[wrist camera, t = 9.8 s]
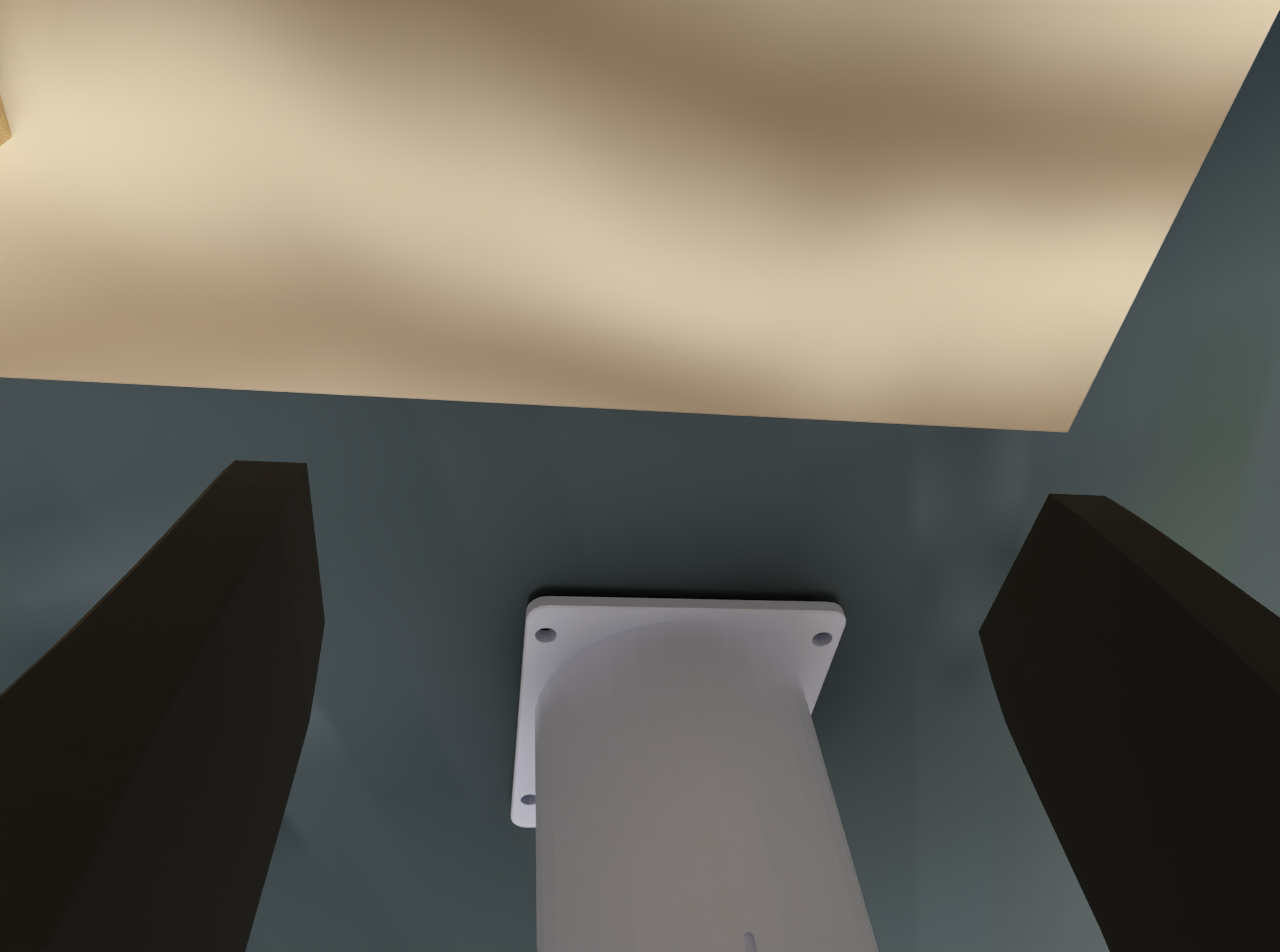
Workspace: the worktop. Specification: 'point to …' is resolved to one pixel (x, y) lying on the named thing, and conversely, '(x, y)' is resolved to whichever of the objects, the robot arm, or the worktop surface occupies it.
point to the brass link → (4, 125)
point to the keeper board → (604, 197)
